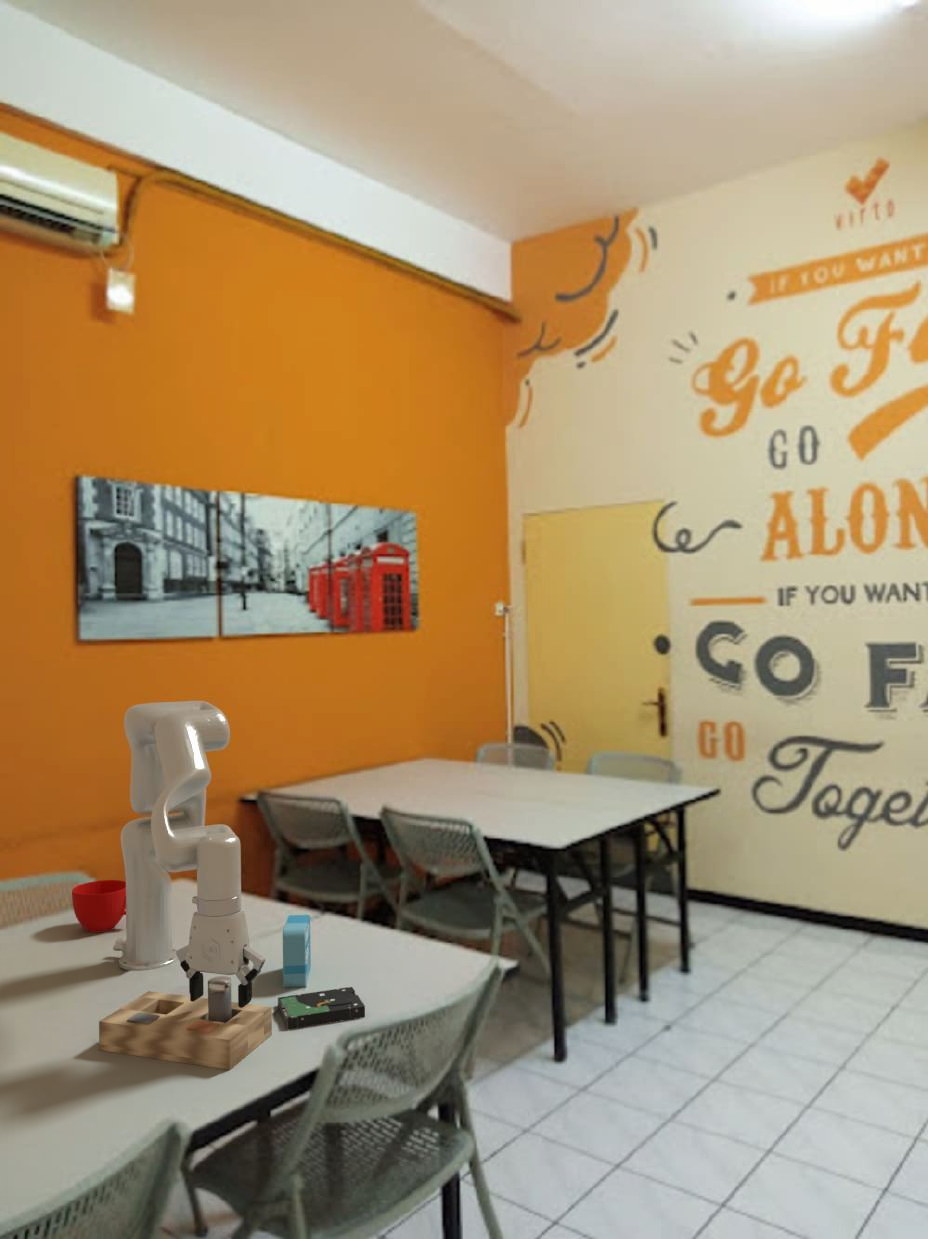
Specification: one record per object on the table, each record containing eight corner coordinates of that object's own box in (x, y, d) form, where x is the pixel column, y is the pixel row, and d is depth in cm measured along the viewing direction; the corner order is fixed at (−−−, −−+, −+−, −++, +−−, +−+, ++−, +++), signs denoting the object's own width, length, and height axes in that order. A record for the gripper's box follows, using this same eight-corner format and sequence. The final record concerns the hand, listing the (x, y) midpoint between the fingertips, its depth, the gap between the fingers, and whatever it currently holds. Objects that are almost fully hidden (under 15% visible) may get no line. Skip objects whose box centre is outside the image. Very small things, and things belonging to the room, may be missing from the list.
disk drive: (351, 1000, 189) (276, 1011, 184) (351, 986, 189) (276, 996, 184) (365, 1020, 180) (287, 1032, 174) (366, 1005, 180) (287, 1017, 174)
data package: (305, 990, 193) (305, 930, 193) (283, 991, 192) (282, 931, 192) (310, 968, 205) (310, 912, 205) (289, 969, 204) (288, 913, 204)
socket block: (99, 1049, 167) (98, 1019, 167) (149, 1017, 180) (148, 989, 180) (229, 1070, 159) (229, 1038, 159) (271, 1034, 172) (271, 1005, 172)
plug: (204, 1040, 168) (203, 983, 168) (216, 1030, 172) (215, 975, 172) (224, 1043, 167) (223, 986, 167) (236, 1033, 171) (235, 977, 170)
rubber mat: (148, 1007, 185) (148, 1004, 185) (179, 988, 194) (179, 985, 194) (193, 1013, 182) (193, 1010, 182) (222, 993, 191) (222, 990, 191)
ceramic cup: (134, 936, 226) (133, 894, 226) (63, 937, 227) (62, 895, 227) (152, 919, 239) (152, 879, 239) (85, 919, 240) (84, 879, 240)
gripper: (164, 907, 168) (165, 1004, 168) (251, 915, 163) (252, 1015, 163) (189, 895, 175) (190, 988, 175) (273, 902, 170) (274, 999, 170)
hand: (220, 1001), depth 169 cm, fingers open, 9 cm apart
